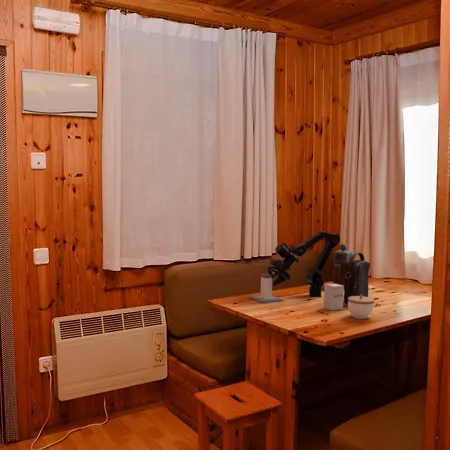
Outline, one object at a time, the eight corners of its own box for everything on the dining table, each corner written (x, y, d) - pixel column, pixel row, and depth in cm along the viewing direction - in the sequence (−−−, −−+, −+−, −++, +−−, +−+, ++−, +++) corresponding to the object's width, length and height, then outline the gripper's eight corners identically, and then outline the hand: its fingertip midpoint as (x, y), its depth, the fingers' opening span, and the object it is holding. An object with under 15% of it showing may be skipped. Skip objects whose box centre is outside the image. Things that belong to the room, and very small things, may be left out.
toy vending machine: (331, 288, 328) (332, 244, 326) (337, 285, 337) (339, 242, 335) (344, 290, 323) (346, 245, 321) (350, 287, 333) (352, 243, 330)
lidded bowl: (374, 321, 251) (375, 298, 250) (347, 319, 254) (348, 296, 253) (372, 314, 264) (373, 293, 263) (346, 312, 266) (347, 291, 265)
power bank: (267, 296, 296) (268, 273, 295) (271, 298, 291) (272, 275, 290) (260, 296, 294) (261, 274, 293) (264, 298, 289) (264, 275, 288)
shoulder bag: (357, 297, 303) (359, 249, 301) (372, 300, 297) (374, 251, 295) (339, 304, 285) (341, 253, 283) (355, 307, 279) (357, 255, 277)
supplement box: (332, 310, 270) (333, 286, 269) (323, 307, 277) (324, 284, 276) (343, 309, 274) (344, 285, 273) (334, 306, 280) (335, 283, 279)
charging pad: (271, 296, 302) (271, 294, 302) (283, 301, 289) (283, 299, 289) (249, 297, 296) (249, 295, 296) (260, 303, 283) (260, 301, 283)
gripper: (270, 251, 302) (252, 271, 298) (286, 256, 285) (268, 277, 281) (281, 264, 306) (264, 284, 302) (298, 269, 289) (280, 290, 285)
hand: (269, 283), depth 293 cm, fingers open, 9 cm apart
